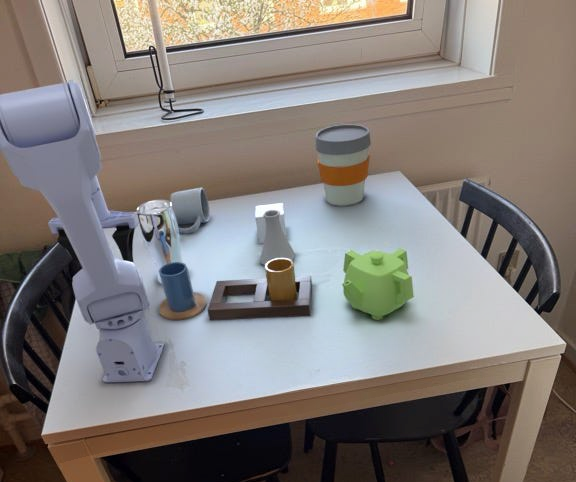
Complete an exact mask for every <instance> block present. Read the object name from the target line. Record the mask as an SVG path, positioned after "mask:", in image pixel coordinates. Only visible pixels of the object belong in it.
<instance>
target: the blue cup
mask: <svg viewBox="0 0 576 482" xmlns="http://www.w3.org/2000/svg"><path fill="white" fill-rule="evenodd" d="M182 262H183V261H182ZM182 262H173V263H169V264H166V265H164V266H162V267H161V268H160V270H159V274H160V278H161V281H162V284H161V285H162V288H163V291H164V295H165V299H167V302H168V305H169V308H170V310H171V311H174V312H184V311H187V310H189V309H191V308H193V307H194V306H195V303H196V301H195V297H194V293H193V292H194V288H193V284H192V281H191V277H190V274H189V273H190V272H189V269H188V266H187V264H186V263H185V262H183V263H182Z"/></svg>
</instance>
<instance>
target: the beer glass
mask: <svg viewBox="0 0 576 482" xmlns="http://www.w3.org/2000/svg"><path fill="white" fill-rule="evenodd" d="M135 212H136V215H137V218H138V222H139V223H138V226H139V229H140V232H141V235H142V238H143V241H144V243H145V245H146V247H147V249H148V252H149V253H150V255H151V258H152V260H153V261H154V265H155V267H156V268H155V269H156V277H157V282H158V283H159V284H160V285H162V281H161V278H160V274H159V270H160V268H161V267H162V266H164V265H166V264H169V263H173V262H182V263H184V262H183V258H182V250H181V237H180V236H181V235H180V232H179V228H178V227H179V224H177V220H176V217H175V214H174V211H173V208H172V205H171V202H170V201H169V200H167V199H153V200H148V201H145V202H143V203H141V204H139V205H138V206H137V208H136V210H135Z"/></svg>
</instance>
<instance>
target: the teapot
mask: <svg viewBox="0 0 576 482" xmlns="http://www.w3.org/2000/svg"><path fill="white" fill-rule="evenodd" d="M342 269H343V270H342V271H343V272H344V273H345V276H344V280H343V282H342V283H341V285H342V288H343V289H342V290H343V291H342V292H343V296H344V298H345V299H346V301H347V302H348V303H349V304H350V305H351V308H352V309H353V310H359V311H361V312H364V313H365V314H369V315H371V318H372V319H373V320H375V321H377V320H378V321H379V320H382V319H383V318H384V316H386V315H389V314H390V313H392V312H395V311H396V310H398V309H399V308H401V307H403V305H404V304H406V303H407V302H408V301H410V300H411V299H413V298H414V296H415V295H414V286H413V277H412V276H413V275H410V274H409V271H408V270H409V260H408V251H407V250H405V249H403V248H398V249H396V250H394V251H393V252H392V253H388V252H384V251H381V250H376V249H375V250H370V251H367V252H365V253H363V254H361V253H358V252H357V251H354V250H352V249H350V250H348V251H347V252H345V253H344V260H343V268H342Z"/></svg>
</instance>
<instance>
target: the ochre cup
mask: <svg viewBox="0 0 576 482" xmlns="http://www.w3.org/2000/svg"><path fill="white" fill-rule="evenodd" d="M293 261H294V260H293ZM293 261H292V260H290V259H288V258H276V259H272V260H270V261H268V262H267V263H266V264H265V265H264V271H265V278H266V279H267V286H268V293H269V297H268V301H279V300H298V292H297V290H296V280H295V277H296V273H295V262H293Z"/></svg>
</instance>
